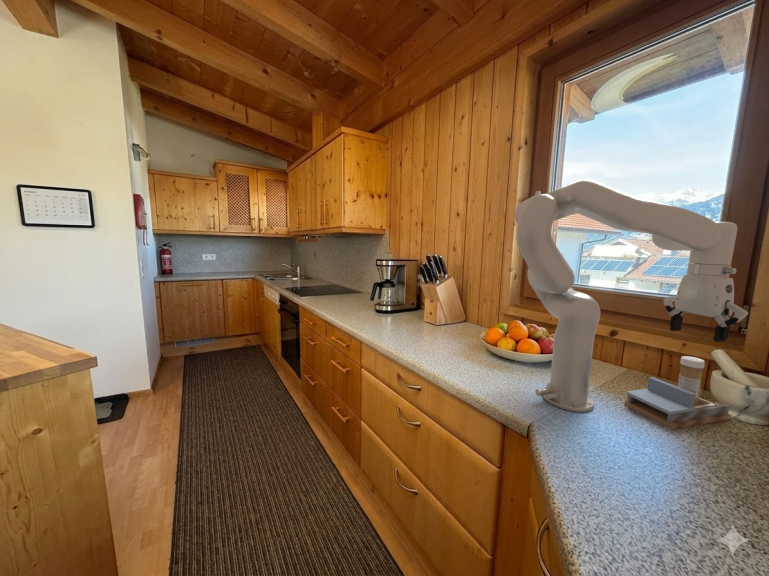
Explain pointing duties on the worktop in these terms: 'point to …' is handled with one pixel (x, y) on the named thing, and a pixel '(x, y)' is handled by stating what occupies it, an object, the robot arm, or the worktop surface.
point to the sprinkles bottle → (691, 375)
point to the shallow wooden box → (701, 415)
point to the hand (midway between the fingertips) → (696, 335)
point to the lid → (665, 397)
